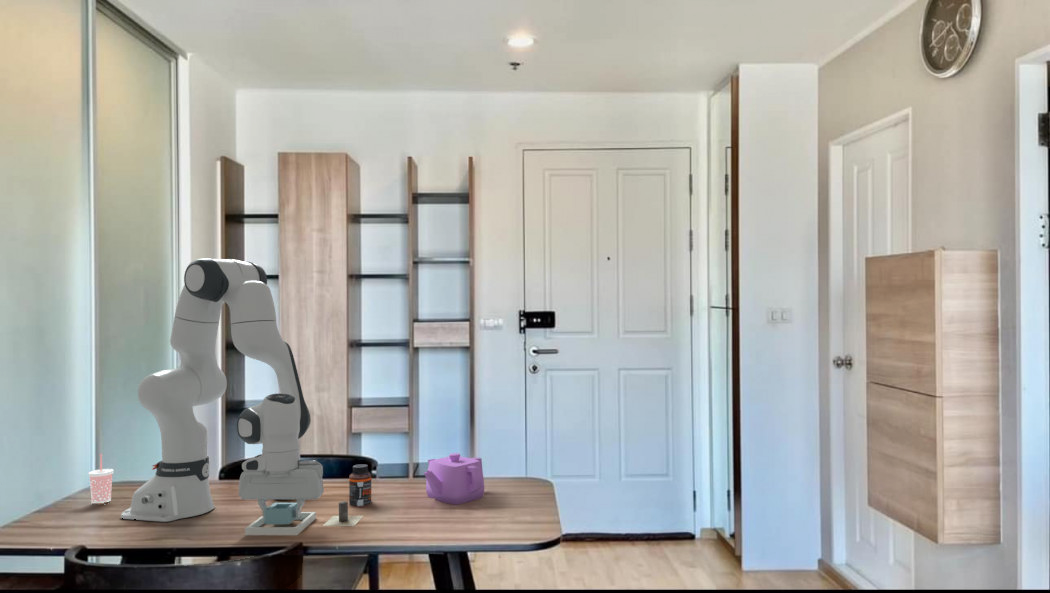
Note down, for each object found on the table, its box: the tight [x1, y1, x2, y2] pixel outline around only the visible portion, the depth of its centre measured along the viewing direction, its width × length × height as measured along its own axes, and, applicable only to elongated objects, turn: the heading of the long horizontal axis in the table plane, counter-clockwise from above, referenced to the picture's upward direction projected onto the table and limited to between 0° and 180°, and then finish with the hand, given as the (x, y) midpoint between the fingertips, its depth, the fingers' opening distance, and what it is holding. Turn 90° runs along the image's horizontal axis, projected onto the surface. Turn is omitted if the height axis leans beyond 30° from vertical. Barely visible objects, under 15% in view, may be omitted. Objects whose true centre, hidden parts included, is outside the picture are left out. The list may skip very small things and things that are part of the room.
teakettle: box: [423, 452, 485, 506], centre depth 195 cm, size 17×17×12 cm
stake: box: [322, 500, 364, 527], centre depth 171 cm, size 8×8×6 cm
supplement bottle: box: [348, 463, 372, 508], centre depth 186 cm, size 6×6×11 cm
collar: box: [264, 502, 299, 525], centre depth 167 cm, size 6×7×4 cm
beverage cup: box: [88, 453, 114, 504], centre depth 193 cm, size 6×6×14 cm
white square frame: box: [244, 511, 317, 536], centre depth 167 cm, size 13×13×3 cm
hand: (281, 516), depth 167 cm, fingers closed on collar, 6 cm apart
